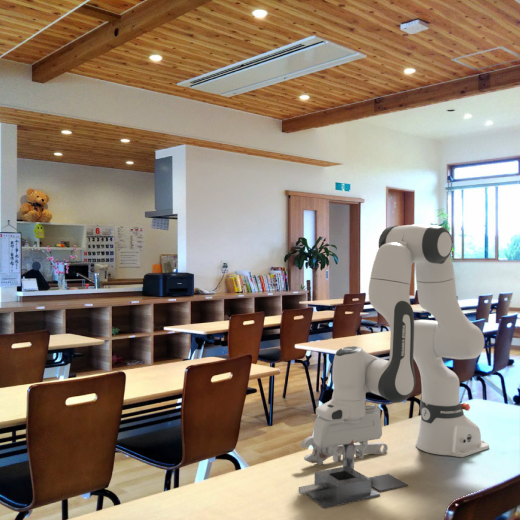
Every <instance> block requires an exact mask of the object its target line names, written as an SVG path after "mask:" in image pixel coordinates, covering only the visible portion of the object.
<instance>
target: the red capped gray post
mask: <svg viewBox="0 0 520 520" xmlns="http://www.w3.org/2000/svg"><path fill="white" fill-rule="evenodd" d="M345 466H349V467H350V468H352V469H354V470H355V454H354V441H353V440H352V441H351V443H350V444H345V445H343V455H342V467H345Z"/></svg>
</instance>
